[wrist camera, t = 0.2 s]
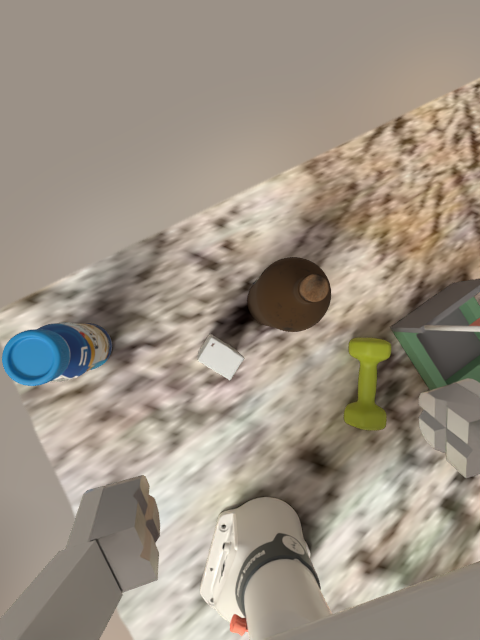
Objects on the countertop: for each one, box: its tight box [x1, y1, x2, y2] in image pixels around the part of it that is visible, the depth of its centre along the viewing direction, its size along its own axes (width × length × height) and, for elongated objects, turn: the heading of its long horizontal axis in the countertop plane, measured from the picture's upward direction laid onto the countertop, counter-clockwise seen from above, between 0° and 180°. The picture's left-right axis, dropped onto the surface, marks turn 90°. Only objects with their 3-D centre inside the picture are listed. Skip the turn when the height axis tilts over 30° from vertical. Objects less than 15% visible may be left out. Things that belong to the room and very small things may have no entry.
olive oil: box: [247, 257, 331, 332], centre depth 50 cm, size 11×11×25 cm
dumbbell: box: [344, 337, 391, 430], centre depth 61 cm, size 16×8×7 cm, turn 175°
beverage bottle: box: [2, 322, 112, 386], centre depth 49 cm, size 8×8×20 cm
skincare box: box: [197, 334, 244, 380], centre depth 56 cm, size 6×4×12 cm
